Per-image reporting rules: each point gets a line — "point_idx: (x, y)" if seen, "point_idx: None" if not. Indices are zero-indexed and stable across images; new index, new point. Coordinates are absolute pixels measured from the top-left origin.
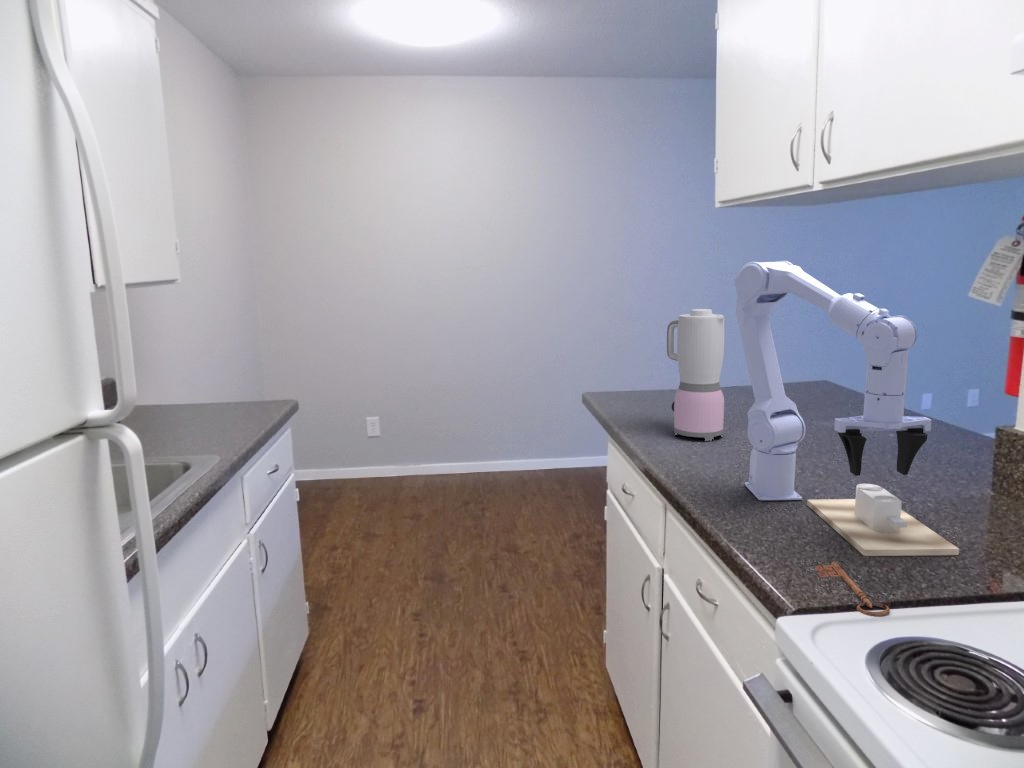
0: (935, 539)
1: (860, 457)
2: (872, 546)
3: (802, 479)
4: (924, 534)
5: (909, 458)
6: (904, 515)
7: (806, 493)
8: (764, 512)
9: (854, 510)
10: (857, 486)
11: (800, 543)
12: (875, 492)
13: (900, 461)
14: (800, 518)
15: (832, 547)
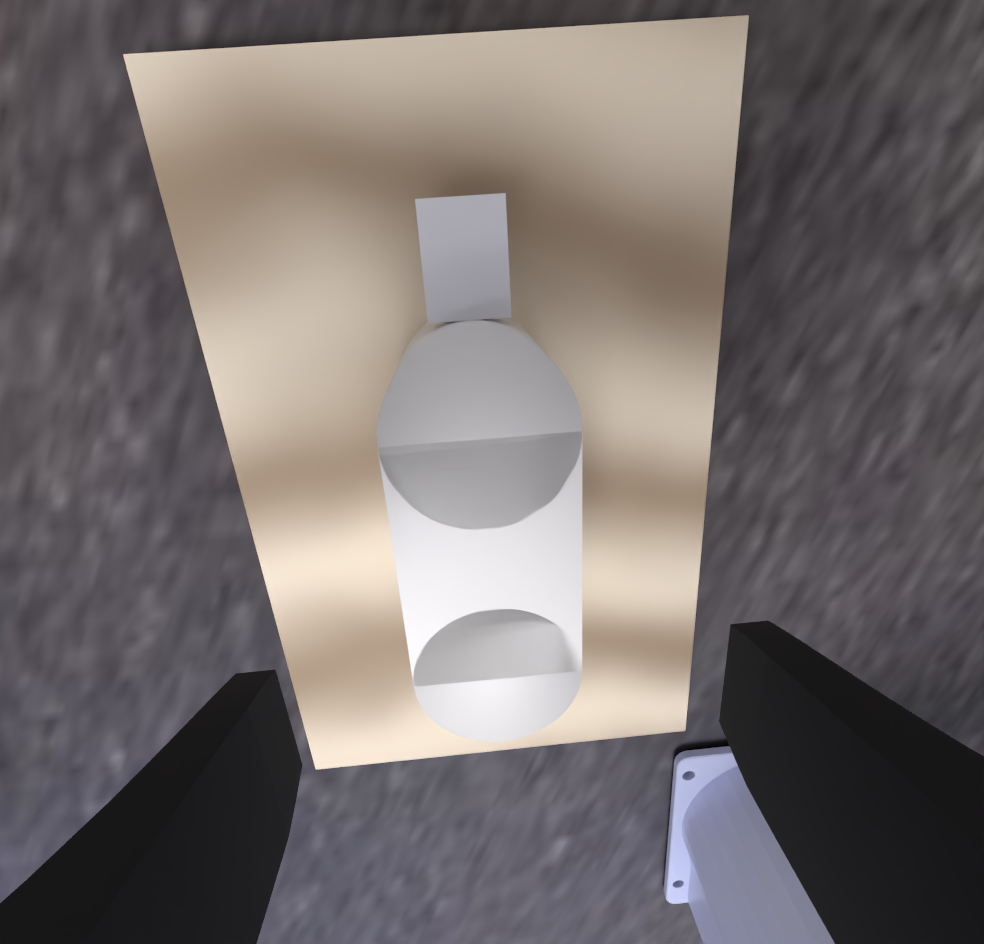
0: (231, 227)
1: (940, 780)
2: (671, 83)
3: (563, 938)
4: (274, 306)
5: (128, 842)
6: (294, 577)
7: (615, 820)
8: (908, 617)
9: None
10: (572, 690)
11: (973, 232)
12: (502, 588)
13: (249, 854)
14: (786, 561)
15: (836, 177)
